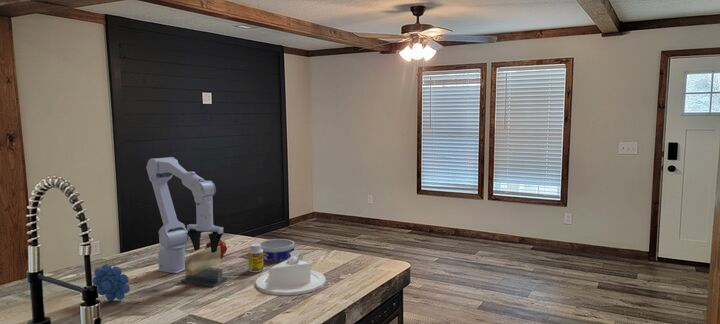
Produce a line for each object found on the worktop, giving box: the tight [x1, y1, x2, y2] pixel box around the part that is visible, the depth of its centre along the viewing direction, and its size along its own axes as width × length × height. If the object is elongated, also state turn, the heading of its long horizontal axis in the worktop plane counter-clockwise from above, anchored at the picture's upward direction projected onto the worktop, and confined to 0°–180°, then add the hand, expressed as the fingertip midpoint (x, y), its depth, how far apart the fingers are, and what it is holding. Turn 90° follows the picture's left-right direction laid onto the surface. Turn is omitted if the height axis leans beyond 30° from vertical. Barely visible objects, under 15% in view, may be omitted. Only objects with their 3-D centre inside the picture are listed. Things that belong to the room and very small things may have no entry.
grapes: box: [91, 263, 131, 302], centre depth 150 cm, size 12×7×12 cm, turn 92°
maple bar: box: [184, 246, 222, 276], centre depth 169 cm, size 3×16×6 cm, turn 160°
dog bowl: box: [258, 238, 295, 263], centre depth 200 cm, size 15×15×6 cm
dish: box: [255, 249, 326, 296], centre depth 168 cm, size 25×25×11 cm
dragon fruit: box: [204, 239, 228, 259], centre depth 198 cm, size 8×8×12 cm
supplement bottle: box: [248, 243, 264, 273], centre depth 181 cm, size 6×6×10 cm
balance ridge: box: [180, 266, 228, 288], centre depth 169 cm, size 14×8×5 cm, turn 70°
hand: (205, 250), depth 172 cm, fingers open, 7 cm apart
